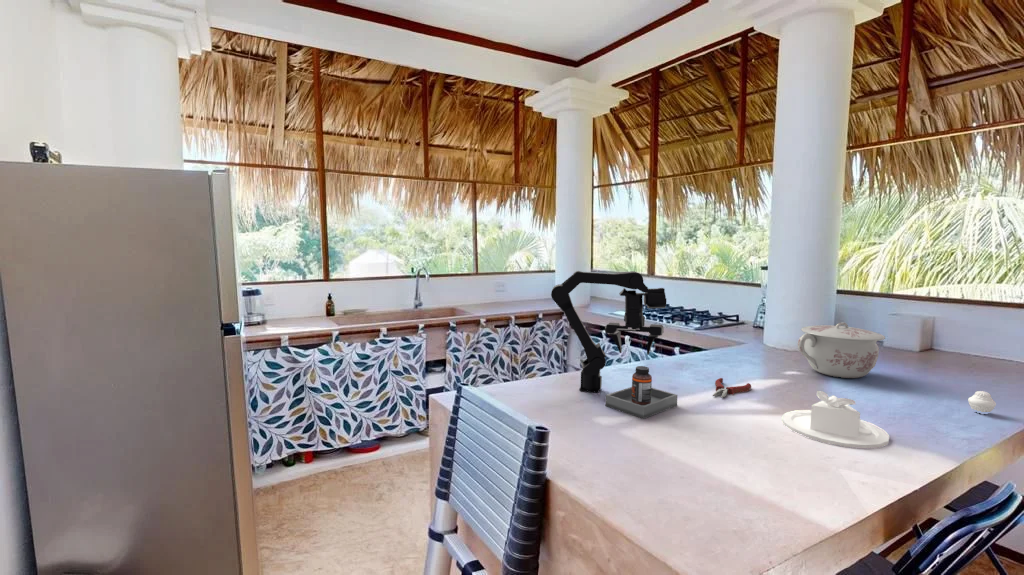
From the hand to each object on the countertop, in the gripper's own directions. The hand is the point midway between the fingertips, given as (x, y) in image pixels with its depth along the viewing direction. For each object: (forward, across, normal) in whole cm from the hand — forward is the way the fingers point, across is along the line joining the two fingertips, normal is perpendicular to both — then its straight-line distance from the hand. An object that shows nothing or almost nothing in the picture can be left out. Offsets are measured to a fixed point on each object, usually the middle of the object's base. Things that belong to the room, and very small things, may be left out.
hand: (634, 353), depth 163 cm
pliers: (+15, -28, -16) cm, 35 cm away
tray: (+13, -5, +14) cm, 20 cm away
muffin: (+18, -100, -26) cm, 105 cm away
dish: (+16, -56, +9) cm, 59 cm away
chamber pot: (+17, -69, -59) cm, 92 cm away
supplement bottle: (+12, -4, +14) cm, 19 cm away
